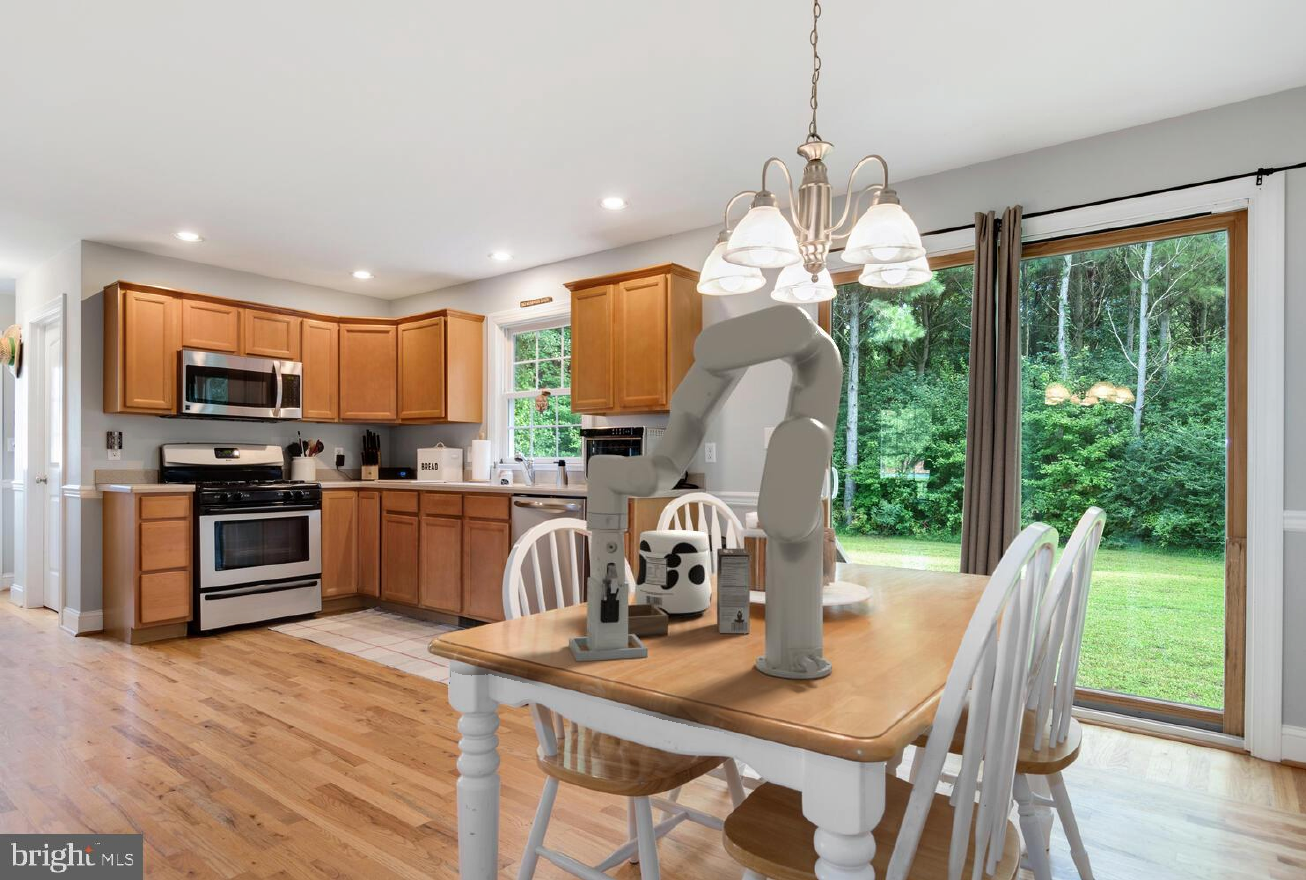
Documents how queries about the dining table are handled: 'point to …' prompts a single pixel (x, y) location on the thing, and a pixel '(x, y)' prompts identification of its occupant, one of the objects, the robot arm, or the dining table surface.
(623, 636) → the small box
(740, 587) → the coffee box
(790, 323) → the robot arm
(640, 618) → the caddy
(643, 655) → the tray
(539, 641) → the dining table surface
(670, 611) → the milk container
